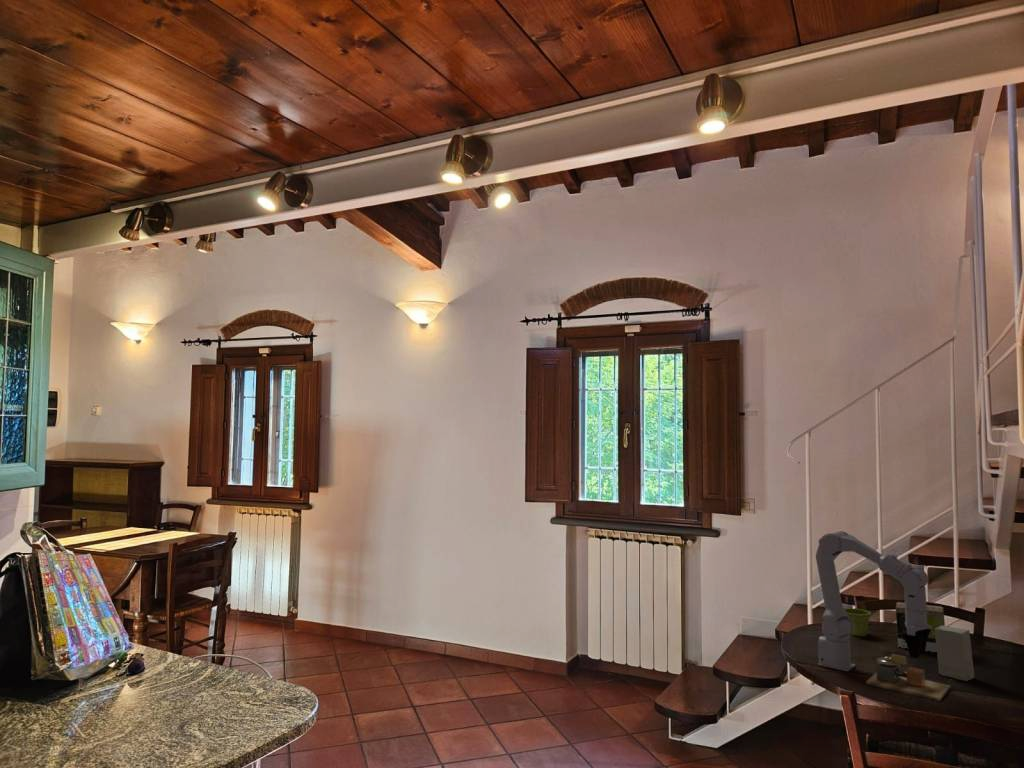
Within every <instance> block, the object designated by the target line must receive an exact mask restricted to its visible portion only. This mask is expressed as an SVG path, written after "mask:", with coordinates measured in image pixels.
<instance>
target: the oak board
mask: <svg viewBox="0 0 1024 768" xmlns="http://www.w3.org/2000/svg"><path fill="white" fill-rule="evenodd" d="M866 685H869V686H874V687H876V688H877V687H879V688H882V689H886V690H890V691H896V692H899V693H904V694H907V695H913V696H916V697H921V698H925V699H929V700H933V699H935V700H934V701H937V700H938V702H940V701H941V700H942V699H943V698H944V697H945V696H946V694H947V693H948V692H949V691H948V690H950V689H951V684H946V683H940V682H937V681H933V680H928V679H925V684H924V686H923V687H920V686H916V685H911V684H907V678H905V677H901V679H900V680H898V681H897V682H896V683H895V684H892V683H888V682H884V681H879V680H877V673H876V672H875V673H874V674H873V675H872V676H871V677H869V679H867V680H866Z"/></svg>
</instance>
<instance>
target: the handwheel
mask: <svg viewBox="0 0 1024 768" xmlns="http://www.w3.org/2000/svg"><path fill="white" fill-rule="evenodd" d="M876 662H877V664H878V663H879V664H882V665H885V666H899V663H900V665H901V664H902V665H905V666H906V665H907V656H904V655H901V654H900V655H899V654H895V653H891V654H890V656H887V655H885V656H884V657H881V656H880V657H877V659H876Z"/></svg>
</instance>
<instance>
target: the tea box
mask: <svg viewBox="0 0 1024 768" xmlns="http://www.w3.org/2000/svg"><path fill="white" fill-rule="evenodd" d="M895 605H896V606H895V619H896V634H897V635H896V636H897V647H898V648H899V647H901V648H900V649H905V648H907V649H906V650H908V646H907V643H906V641H905V639H904V637H903V636H902V632H903V631H904V632H907V627H906V626H905V622H906V621H905V602H899V601H897V602H896V604H895ZM926 607H927V624H928V625H931V626H932V628H931V632H930V633H929V636H928V639H927V643H926V649H925V652H928V651H930V653H935V652H937V646H936V636H935V628H937V627H940V626H946V624H945V622H946V621H945V613H944V612H945V611H944V606H941V605H940V606H939V605H930V604H929V605H928V604H926Z"/></svg>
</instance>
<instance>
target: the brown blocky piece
mask: <svg viewBox="0 0 1024 768" xmlns="http://www.w3.org/2000/svg"><path fill="white" fill-rule="evenodd" d="M896 676H901V677H905V678H907V684H911V685H916V686H920V687H923V686H924V684H925V680H926V670H925V669H923V668H917V667H913V666H909V667H908V668H907V669H906V670H903V669H901V670H897V669H896Z"/></svg>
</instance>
